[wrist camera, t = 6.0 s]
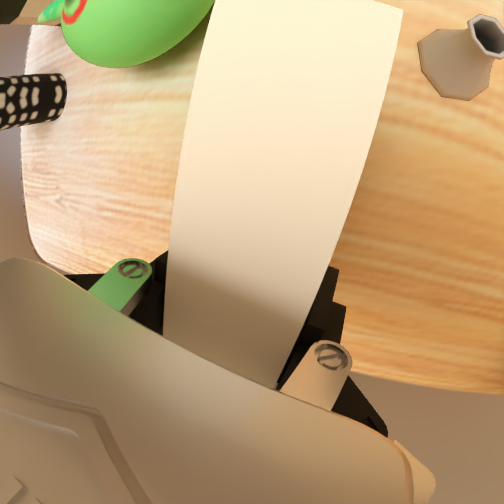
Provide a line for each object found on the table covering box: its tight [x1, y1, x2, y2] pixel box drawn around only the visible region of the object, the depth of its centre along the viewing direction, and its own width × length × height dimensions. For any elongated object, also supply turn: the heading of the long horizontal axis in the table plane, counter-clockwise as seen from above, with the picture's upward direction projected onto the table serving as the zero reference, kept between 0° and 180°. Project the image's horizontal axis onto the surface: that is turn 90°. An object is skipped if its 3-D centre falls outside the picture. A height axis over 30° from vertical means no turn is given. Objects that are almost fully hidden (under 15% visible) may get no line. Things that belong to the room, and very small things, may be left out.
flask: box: [418, 14, 504, 101], centre depth 13 cm, size 7×7×10 cm
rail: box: [163, 0, 403, 388], centre depth 11 cm, size 4×19×5 cm, turn 166°
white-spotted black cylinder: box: [0, 73, 67, 130], centre depth 27 cm, size 8×8×20 cm
